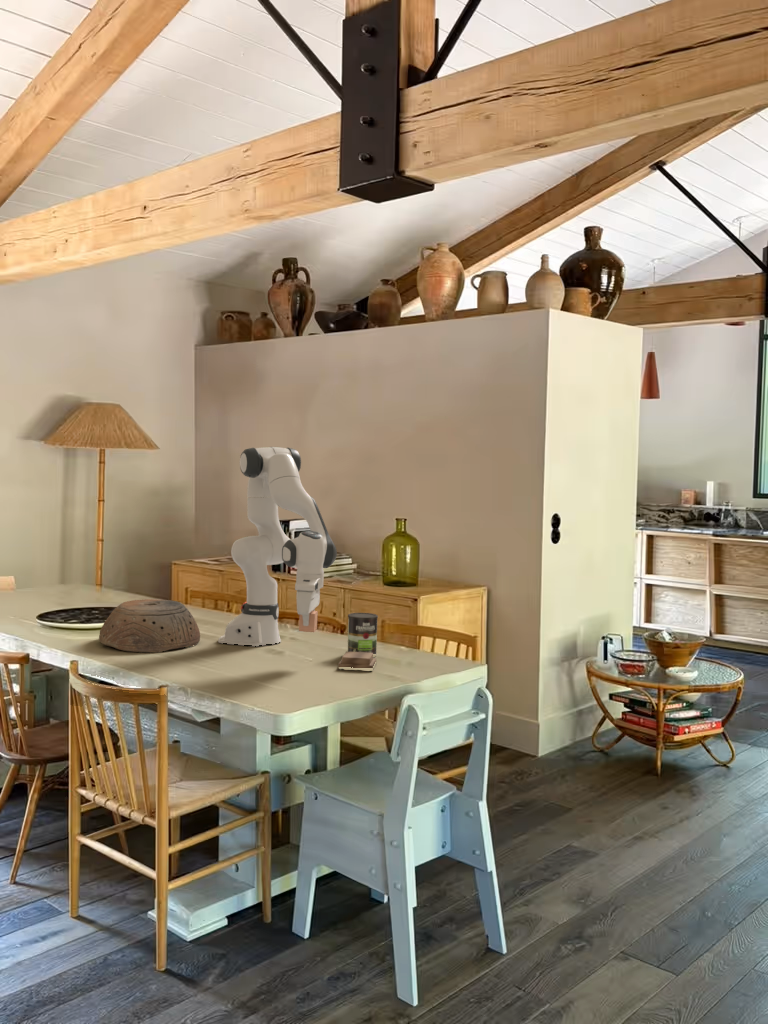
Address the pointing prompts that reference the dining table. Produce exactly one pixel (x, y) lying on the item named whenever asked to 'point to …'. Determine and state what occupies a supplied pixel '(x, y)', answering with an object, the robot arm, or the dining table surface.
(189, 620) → the ceramic artifact
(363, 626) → the coffee can
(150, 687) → the dining table surface
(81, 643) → the dining table surface
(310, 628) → the block
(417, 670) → the dining table surface
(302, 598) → the robot arm
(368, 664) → the plinth
